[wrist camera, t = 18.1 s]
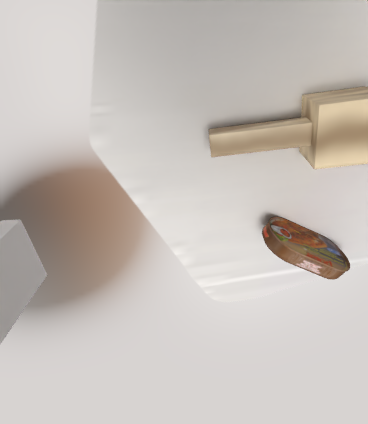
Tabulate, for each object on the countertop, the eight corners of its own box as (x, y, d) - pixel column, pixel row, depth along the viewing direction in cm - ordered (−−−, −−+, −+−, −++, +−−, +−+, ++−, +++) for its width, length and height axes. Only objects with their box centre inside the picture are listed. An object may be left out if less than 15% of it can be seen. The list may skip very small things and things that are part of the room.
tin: (339, 242, 53) (361, 276, 46) (327, 255, 54) (347, 289, 47) (265, 209, 50) (276, 238, 43) (255, 223, 52) (264, 254, 44)
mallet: (206, 107, 42) (207, 119, 36) (364, 86, 40) (393, 95, 34) (211, 161, 46) (213, 180, 40) (355, 144, 44) (380, 162, 38)
